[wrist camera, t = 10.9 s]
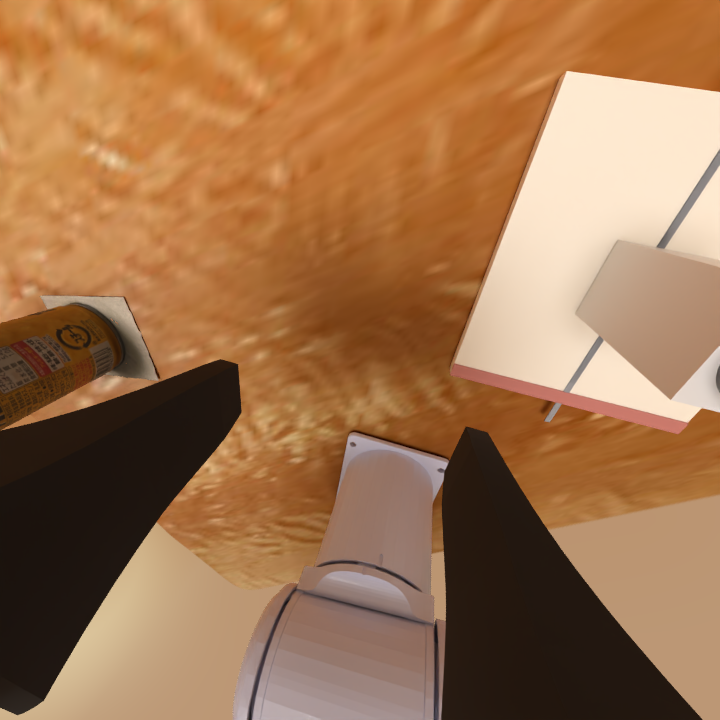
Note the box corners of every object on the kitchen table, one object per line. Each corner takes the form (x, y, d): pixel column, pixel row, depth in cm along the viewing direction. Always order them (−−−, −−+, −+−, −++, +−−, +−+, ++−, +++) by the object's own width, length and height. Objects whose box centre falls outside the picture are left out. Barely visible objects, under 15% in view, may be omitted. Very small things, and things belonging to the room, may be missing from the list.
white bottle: (650, 331, 15) (855, 466, 8) (575, 313, 15) (700, 427, 8) (706, 257, 13) (1048, 342, 6) (618, 239, 13) (832, 297, 6)
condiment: (42, 295, 24) (-242, 369, 14) (125, 296, 23) (-134, 382, 12) (86, 371, 28) (-117, 475, 18) (161, 378, 26) (-18, 499, 16)
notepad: (651, 441, 19) (660, 452, 18) (442, 386, 20) (442, 393, 19) (996, 75, 10) (1043, 65, 9) (579, 24, 11) (590, 12, 10)
